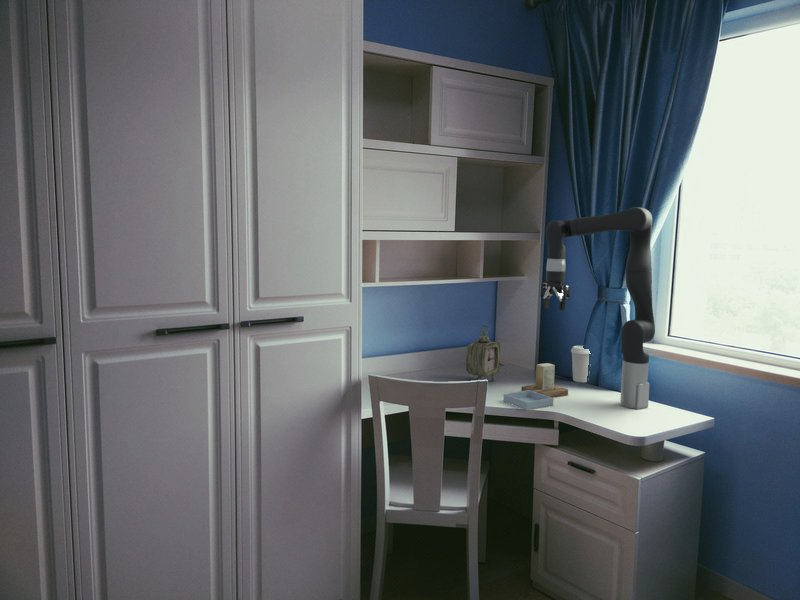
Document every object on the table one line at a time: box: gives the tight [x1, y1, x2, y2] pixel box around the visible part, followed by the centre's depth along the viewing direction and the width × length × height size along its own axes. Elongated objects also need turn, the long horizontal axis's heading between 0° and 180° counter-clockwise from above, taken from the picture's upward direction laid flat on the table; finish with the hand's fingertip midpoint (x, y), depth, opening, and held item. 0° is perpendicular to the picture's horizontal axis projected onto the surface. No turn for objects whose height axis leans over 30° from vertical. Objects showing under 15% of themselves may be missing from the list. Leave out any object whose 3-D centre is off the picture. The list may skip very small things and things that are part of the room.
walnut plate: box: [520, 383, 569, 399], centre depth 253 cm, size 12×14×2 cm
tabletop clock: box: [465, 324, 501, 381], centre depth 269 cm, size 14×9×25 cm, turn 141°
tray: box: [502, 390, 554, 411], centre depth 238 cm, size 13×13×3 cm
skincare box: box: [535, 362, 556, 391], centre depth 252 cm, size 6×4×12 cm
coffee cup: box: [570, 345, 591, 383], centre depth 276 cm, size 10×10×15 cm
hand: (554, 309), depth 256 cm, fingers open, 8 cm apart
